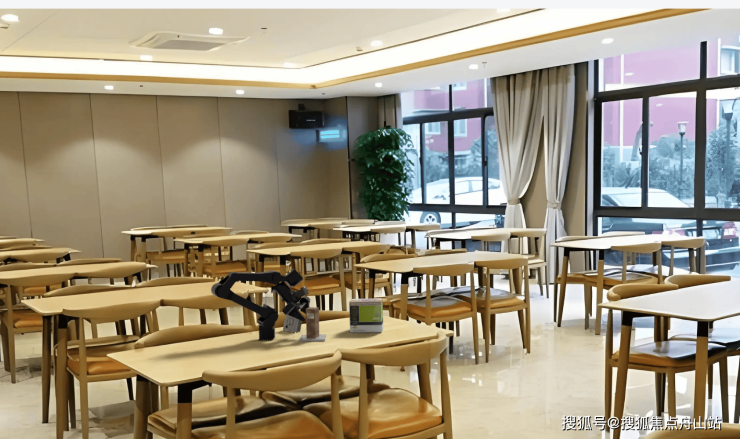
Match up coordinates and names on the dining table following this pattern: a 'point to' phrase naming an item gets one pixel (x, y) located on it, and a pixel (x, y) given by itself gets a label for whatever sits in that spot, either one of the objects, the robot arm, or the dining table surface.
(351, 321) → the tea box
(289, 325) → the electrical switch
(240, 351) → the dining table surface
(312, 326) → the walnut block
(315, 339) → the slate coaster
